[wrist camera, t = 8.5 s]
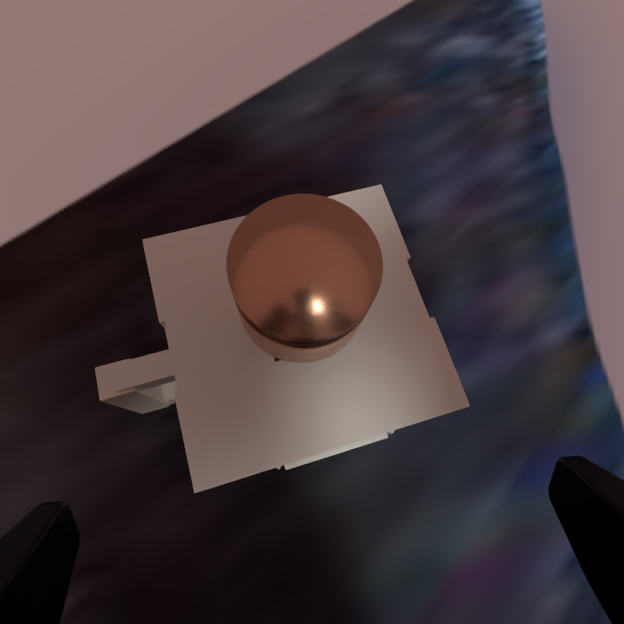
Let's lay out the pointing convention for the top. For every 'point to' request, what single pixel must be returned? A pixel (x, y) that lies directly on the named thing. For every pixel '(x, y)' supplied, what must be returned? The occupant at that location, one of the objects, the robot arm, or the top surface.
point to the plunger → (303, 275)
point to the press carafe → (281, 362)
